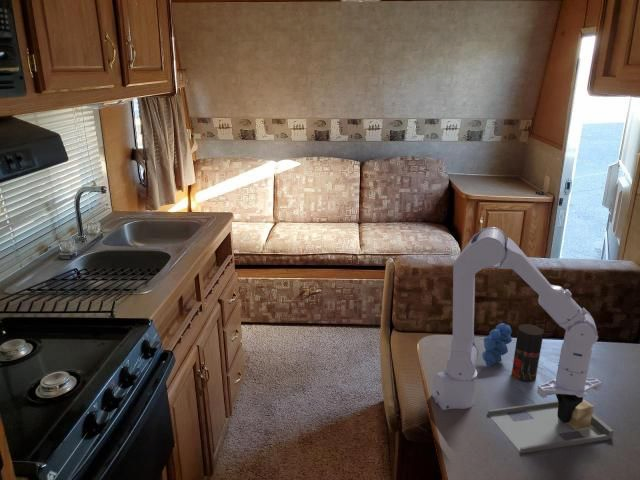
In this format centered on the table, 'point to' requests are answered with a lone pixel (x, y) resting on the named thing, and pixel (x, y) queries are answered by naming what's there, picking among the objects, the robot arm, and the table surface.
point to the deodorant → (527, 352)
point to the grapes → (496, 344)
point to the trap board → (545, 428)
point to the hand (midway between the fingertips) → (563, 419)
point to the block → (581, 415)
